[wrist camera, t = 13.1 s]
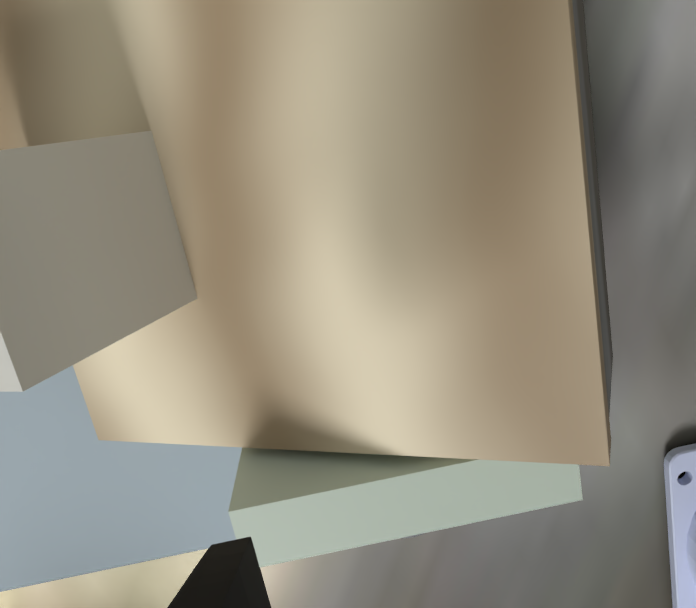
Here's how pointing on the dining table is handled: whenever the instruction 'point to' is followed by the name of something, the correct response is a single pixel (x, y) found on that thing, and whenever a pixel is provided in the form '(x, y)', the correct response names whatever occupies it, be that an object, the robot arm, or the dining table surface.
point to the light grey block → (83, 252)
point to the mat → (99, 491)
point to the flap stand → (378, 497)
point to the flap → (346, 219)
